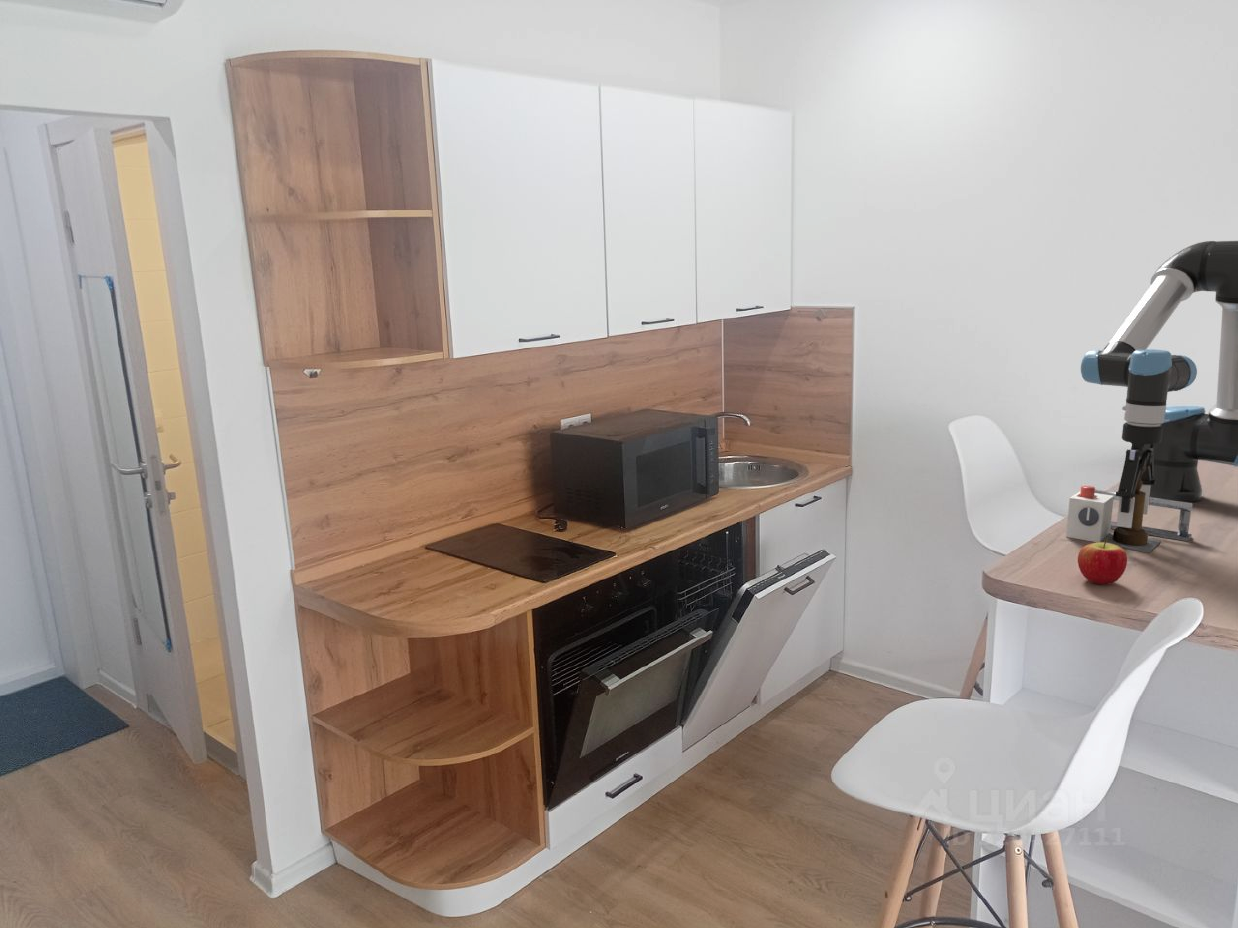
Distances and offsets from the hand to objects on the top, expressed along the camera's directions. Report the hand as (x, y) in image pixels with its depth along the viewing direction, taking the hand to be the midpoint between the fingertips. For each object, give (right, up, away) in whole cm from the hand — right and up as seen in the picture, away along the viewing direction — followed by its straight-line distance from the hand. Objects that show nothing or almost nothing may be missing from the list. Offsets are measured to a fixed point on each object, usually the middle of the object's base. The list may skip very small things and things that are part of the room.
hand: (1132, 519), depth 206 cm
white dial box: (-6, -4, +7) cm, 10 cm away
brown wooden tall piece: (0, -5, +1) cm, 5 cm away
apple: (-19, -11, -23) cm, 32 cm away
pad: (0, -5, +1) cm, 5 cm away
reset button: (-7, +3, +6) cm, 10 cm away
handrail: (+6, -3, +10) cm, 12 cm away
